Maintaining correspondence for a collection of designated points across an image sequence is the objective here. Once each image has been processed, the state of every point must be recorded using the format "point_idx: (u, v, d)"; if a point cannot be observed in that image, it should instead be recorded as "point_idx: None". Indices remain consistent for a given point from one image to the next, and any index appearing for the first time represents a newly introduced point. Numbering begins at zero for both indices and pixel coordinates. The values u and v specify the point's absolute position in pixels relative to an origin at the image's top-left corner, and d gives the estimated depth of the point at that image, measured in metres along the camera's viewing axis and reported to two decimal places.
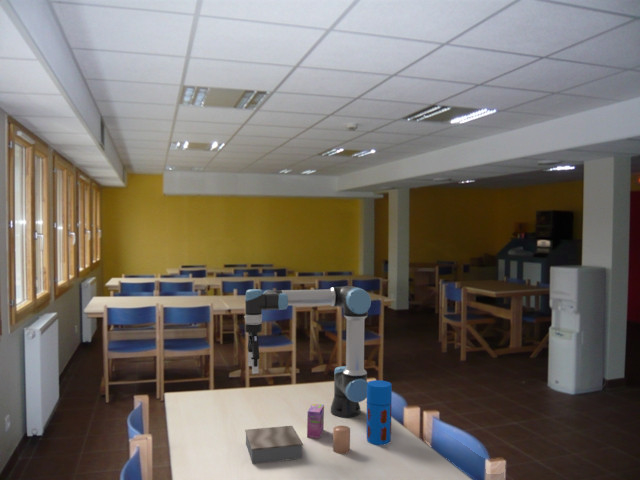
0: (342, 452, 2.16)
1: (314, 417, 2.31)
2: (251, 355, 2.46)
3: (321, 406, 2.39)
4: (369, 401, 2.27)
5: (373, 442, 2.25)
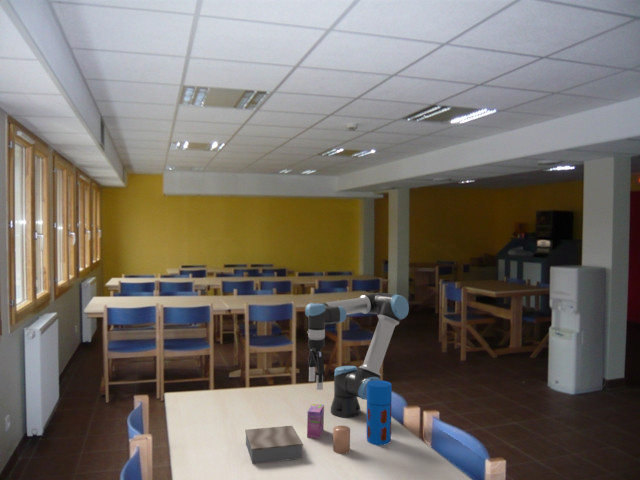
0: (342, 452, 2.16)
1: (314, 417, 2.31)
2: (312, 370, 2.43)
3: (321, 406, 2.39)
4: (369, 401, 2.27)
5: (373, 442, 2.25)
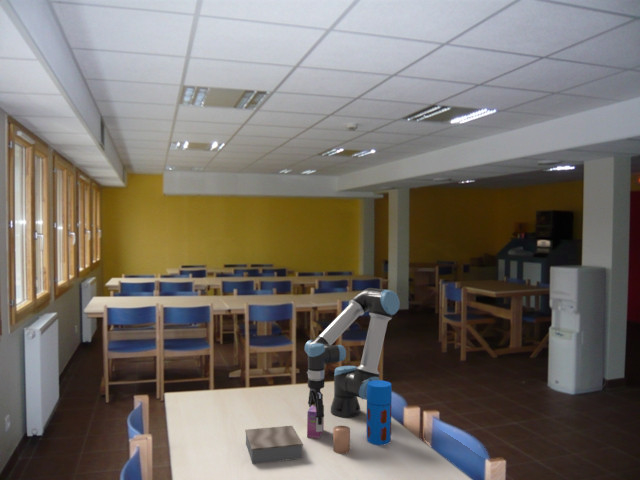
0: (342, 452, 2.16)
1: (314, 417, 2.31)
2: None
3: None
4: (369, 401, 2.27)
5: (373, 442, 2.25)
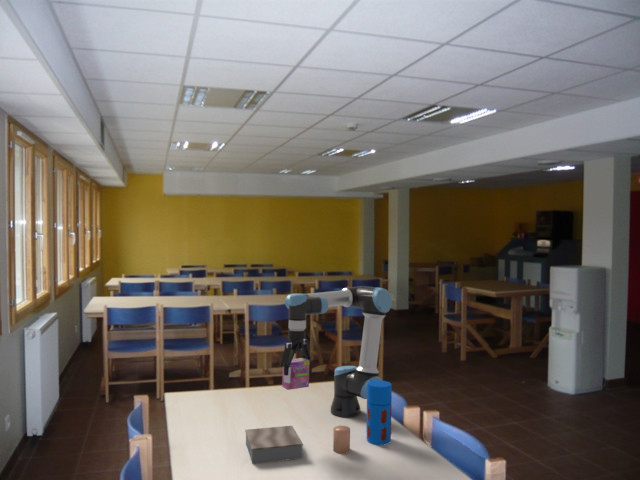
0: (342, 452, 2.16)
1: None
2: None
3: (303, 360, 2.26)
4: (369, 401, 2.27)
5: (373, 442, 2.25)
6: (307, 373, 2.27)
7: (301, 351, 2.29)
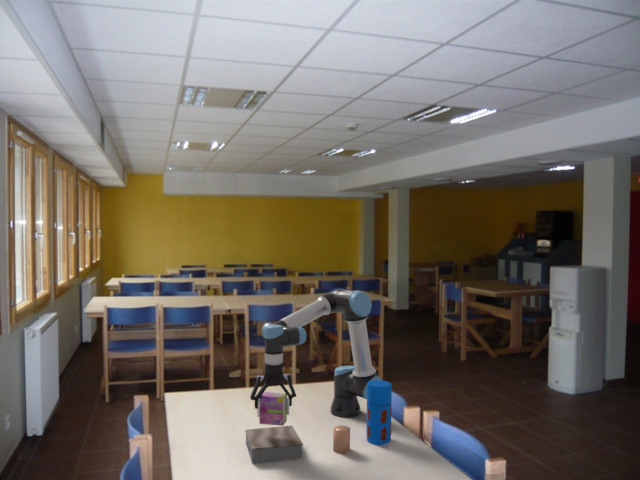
0: (342, 452, 2.16)
1: None
2: (287, 402, 2.19)
3: (277, 396, 2.15)
4: (369, 401, 2.27)
5: (373, 442, 2.25)
6: (281, 411, 2.14)
7: (281, 386, 2.17)
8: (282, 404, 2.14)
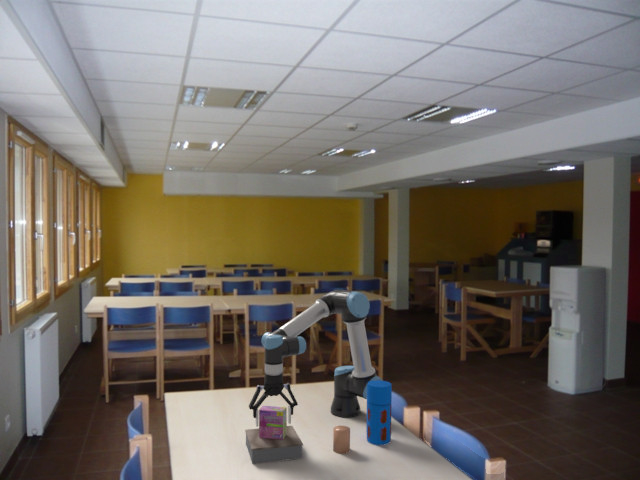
0: (342, 452, 2.16)
1: None
2: (288, 410, 2.19)
3: (277, 410, 2.15)
4: (369, 401, 2.27)
5: (373, 442, 2.25)
6: (281, 425, 2.14)
7: None
8: (282, 418, 2.14)
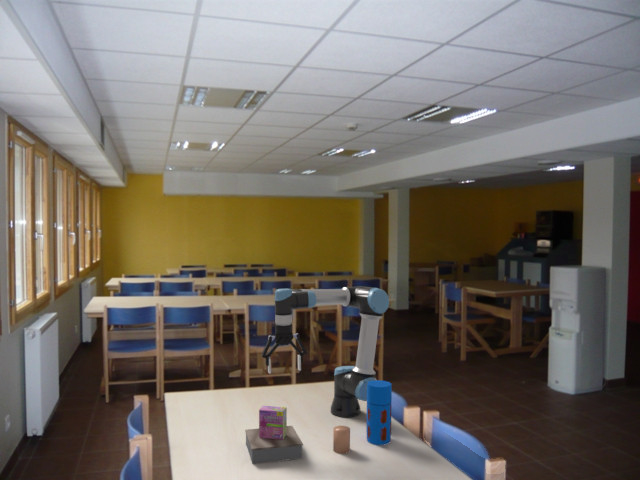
0: (342, 452, 2.16)
1: None
2: (298, 359, 2.34)
3: (277, 410, 2.15)
4: (369, 401, 2.27)
5: (373, 442, 2.25)
6: (281, 425, 2.14)
7: None
8: (282, 418, 2.14)
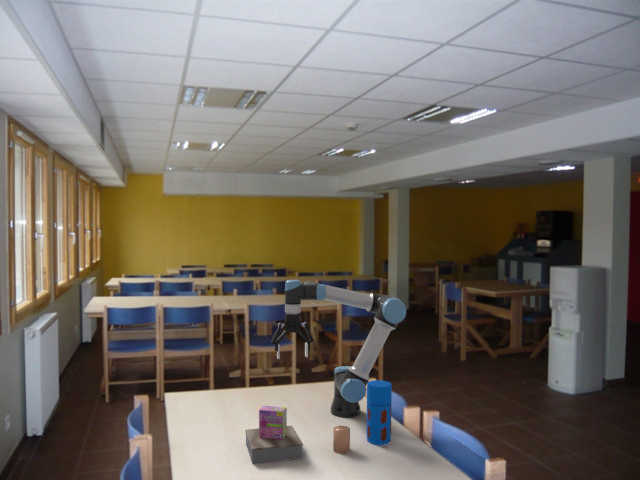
0: (342, 452, 2.16)
1: None
2: (305, 346, 2.49)
3: (277, 410, 2.15)
4: (369, 401, 2.27)
5: (373, 442, 2.25)
6: (281, 425, 2.14)
7: None
8: (282, 418, 2.14)
